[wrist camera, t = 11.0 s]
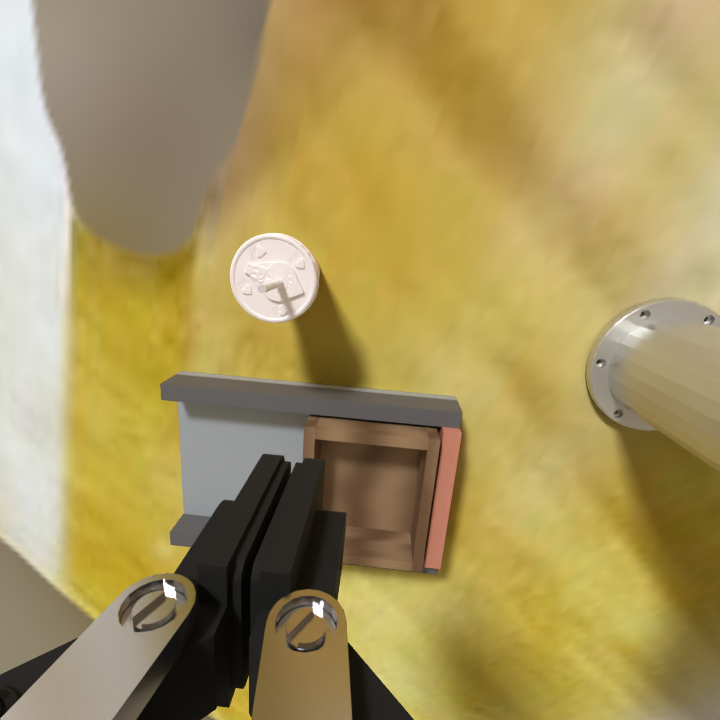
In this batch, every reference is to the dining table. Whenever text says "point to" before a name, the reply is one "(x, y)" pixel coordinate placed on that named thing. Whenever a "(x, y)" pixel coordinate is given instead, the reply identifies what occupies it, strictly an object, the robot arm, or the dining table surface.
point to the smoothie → (274, 277)
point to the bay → (289, 438)
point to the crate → (377, 485)
